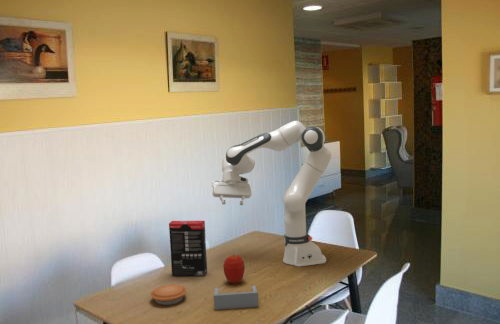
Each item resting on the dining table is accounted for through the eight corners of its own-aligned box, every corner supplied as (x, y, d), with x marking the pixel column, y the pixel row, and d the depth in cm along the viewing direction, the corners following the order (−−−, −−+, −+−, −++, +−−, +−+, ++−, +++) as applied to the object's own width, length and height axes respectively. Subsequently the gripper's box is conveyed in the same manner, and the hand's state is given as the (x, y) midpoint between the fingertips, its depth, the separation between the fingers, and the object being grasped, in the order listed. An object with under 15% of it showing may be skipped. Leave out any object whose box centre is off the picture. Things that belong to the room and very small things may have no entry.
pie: (170, 290, 213) (170, 279, 212) (194, 297, 203) (193, 286, 203) (143, 302, 201) (142, 290, 201) (167, 310, 191) (166, 299, 191)
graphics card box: (208, 271, 234) (205, 219, 231) (205, 276, 227) (202, 222, 224) (175, 272, 236) (171, 219, 232) (171, 277, 229) (167, 223, 225)
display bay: (255, 291, 206) (255, 278, 205) (258, 306, 191) (257, 292, 190) (215, 294, 205) (214, 281, 204) (214, 309, 190) (213, 295, 189)
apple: (235, 276, 226) (234, 248, 224) (250, 281, 219) (248, 252, 217) (219, 282, 219) (217, 254, 217) (234, 288, 211) (232, 258, 210)
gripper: (212, 177, 241) (213, 200, 233) (250, 179, 246) (253, 202, 238) (210, 183, 246) (211, 206, 238) (248, 185, 251) (250, 207, 243)
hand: (232, 204), depth 238 cm, fingers open, 8 cm apart
